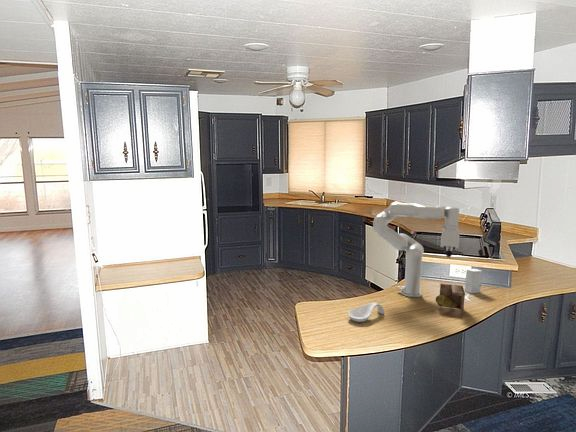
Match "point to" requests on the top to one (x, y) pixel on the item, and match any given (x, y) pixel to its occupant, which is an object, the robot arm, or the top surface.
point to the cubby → (453, 299)
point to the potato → (445, 302)
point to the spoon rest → (364, 312)
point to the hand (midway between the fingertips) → (448, 256)
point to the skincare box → (473, 280)
